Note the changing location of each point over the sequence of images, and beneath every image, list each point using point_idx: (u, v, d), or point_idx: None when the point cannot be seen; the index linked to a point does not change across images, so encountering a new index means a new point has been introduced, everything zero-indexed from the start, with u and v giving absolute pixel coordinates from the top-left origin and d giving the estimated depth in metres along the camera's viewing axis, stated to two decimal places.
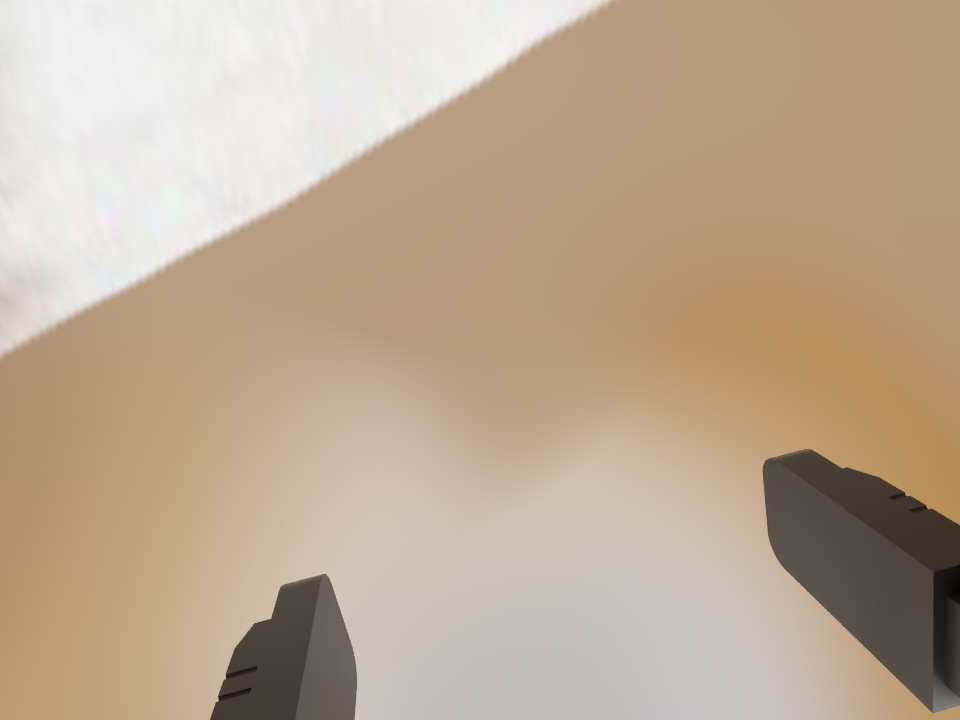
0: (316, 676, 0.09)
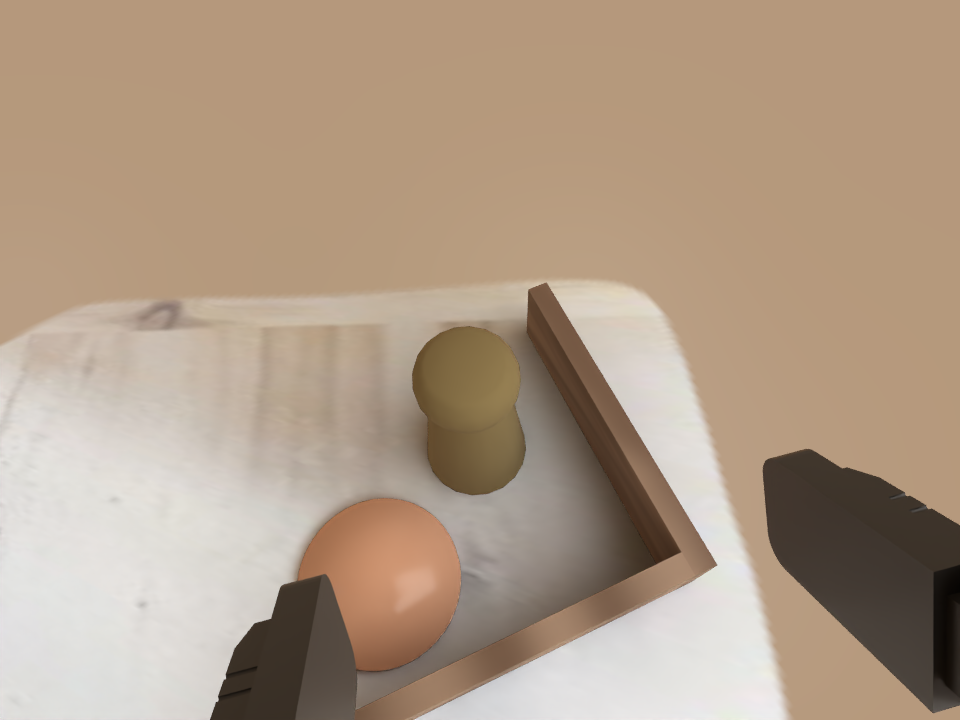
0: (316, 676, 0.09)
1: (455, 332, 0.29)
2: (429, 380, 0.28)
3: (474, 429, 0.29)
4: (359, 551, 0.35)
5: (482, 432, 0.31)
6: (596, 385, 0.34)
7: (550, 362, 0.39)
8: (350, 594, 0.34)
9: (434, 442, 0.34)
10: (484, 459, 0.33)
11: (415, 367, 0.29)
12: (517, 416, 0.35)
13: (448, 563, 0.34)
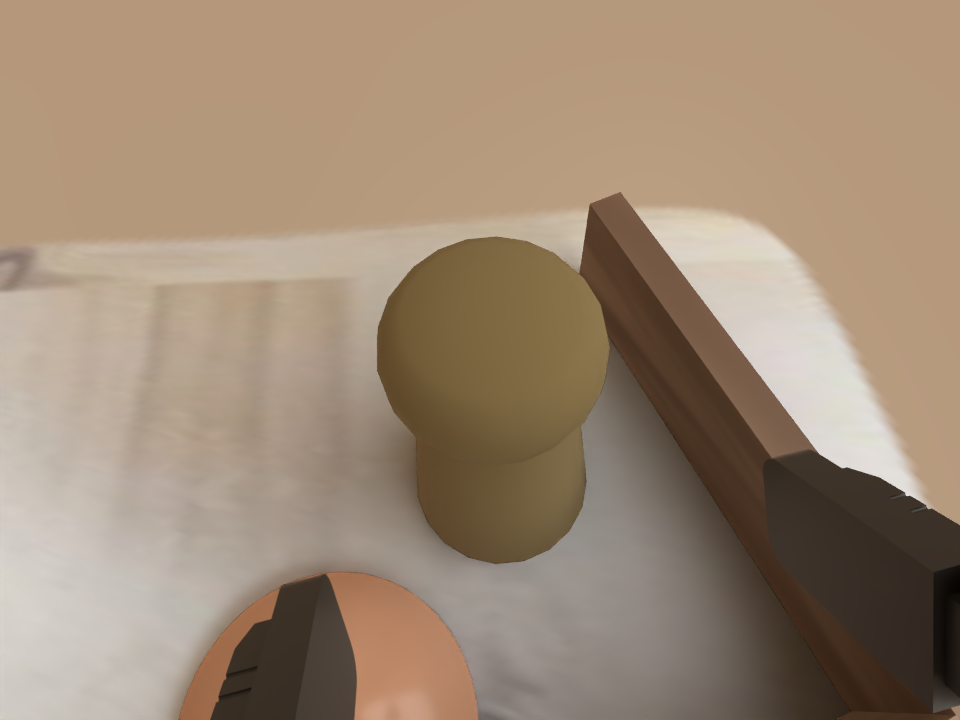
0: (316, 676, 0.09)
1: (469, 247, 0.14)
2: (411, 348, 0.12)
3: (512, 458, 0.13)
4: None
5: (524, 460, 0.15)
6: (729, 366, 0.18)
7: (623, 332, 0.23)
8: None
9: (427, 475, 0.18)
10: (523, 508, 0.17)
11: (382, 323, 0.13)
12: None
13: (455, 699, 0.19)
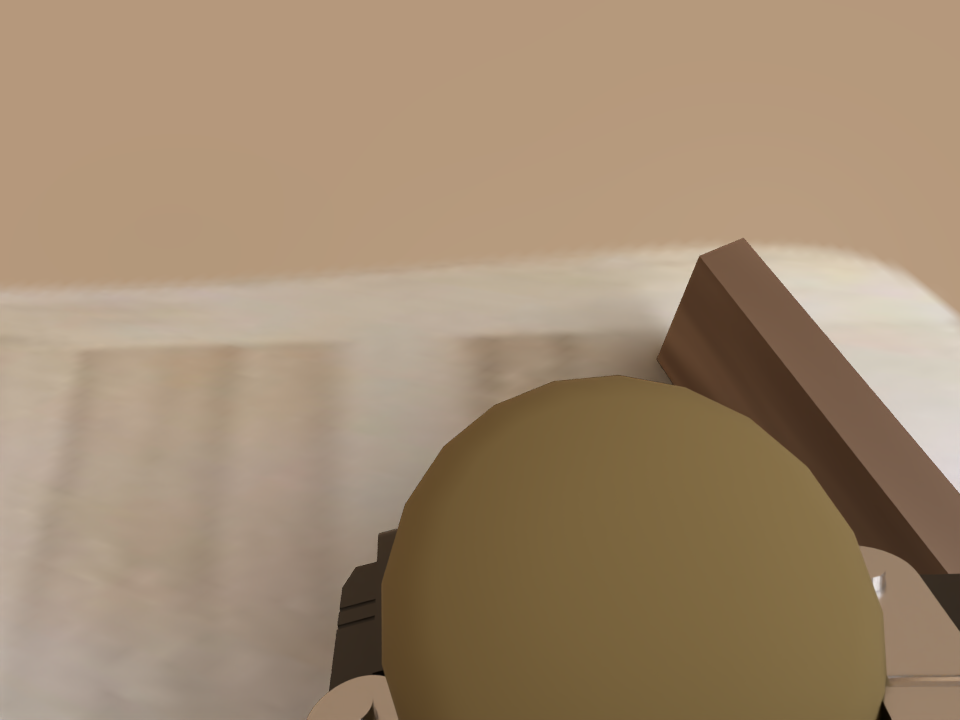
0: None
1: (575, 411, 0.06)
2: (462, 680, 0.05)
3: None
4: None
5: None
6: (958, 538, 0.11)
7: None
8: None
9: None
10: None
11: (392, 577, 0.06)
12: None
13: None
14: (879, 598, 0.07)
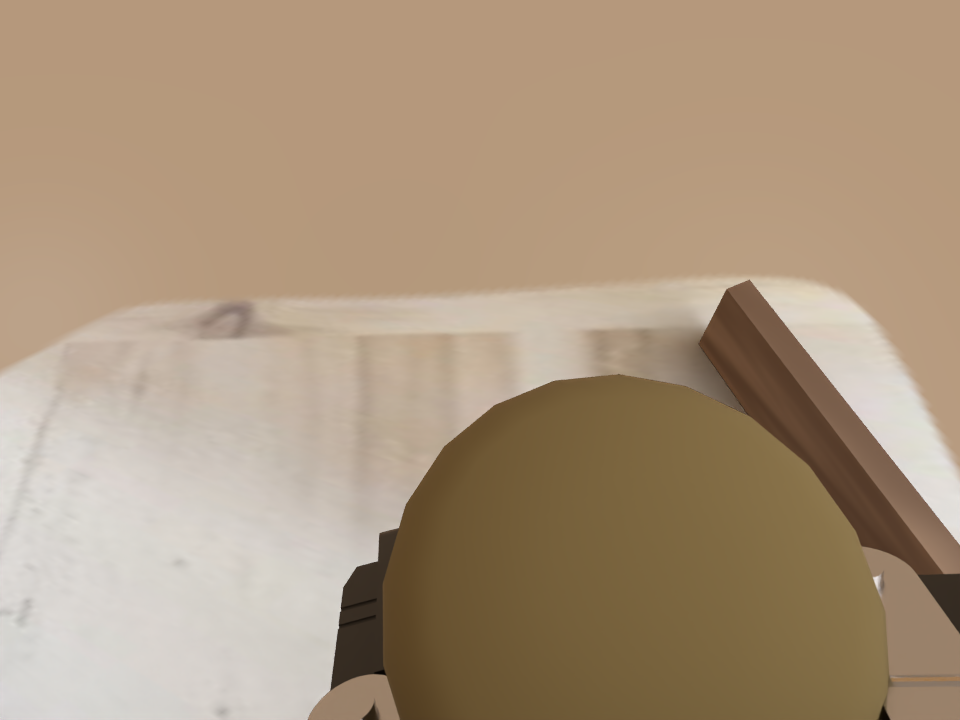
0: None
1: (576, 411, 0.06)
2: (463, 680, 0.05)
3: None
4: None
5: None
6: (844, 420, 0.25)
7: (744, 384, 0.30)
8: None
9: None
10: None
11: (393, 578, 0.06)
12: None
13: None
14: None
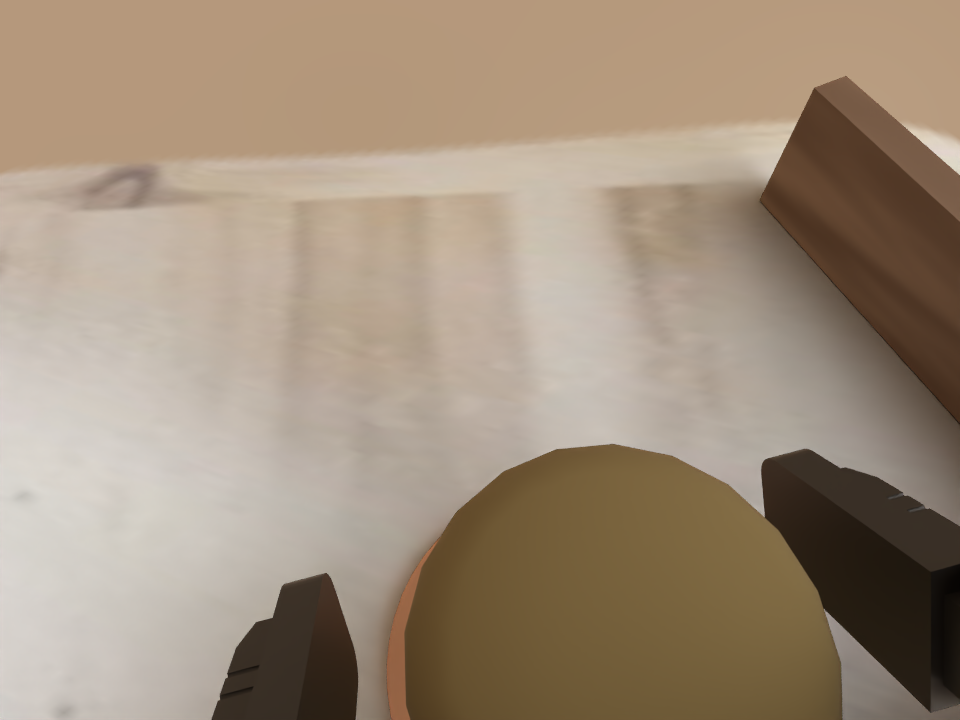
0: (318, 675, 0.09)
1: (575, 485, 0.07)
2: None
3: None
4: None
5: None
6: None
7: (834, 238, 0.21)
8: None
9: None
10: None
11: (416, 631, 0.07)
12: None
13: None
14: None
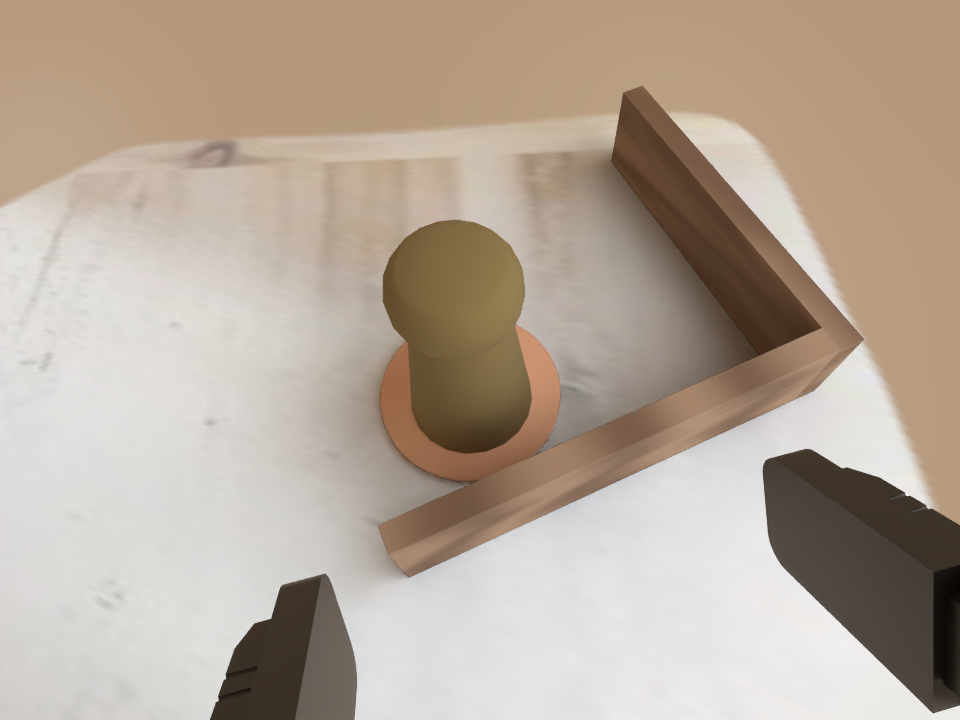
0: (316, 677, 0.09)
1: (438, 226, 0.22)
2: (403, 284, 0.21)
3: (464, 351, 0.22)
4: None
5: (475, 361, 0.24)
6: (708, 176, 0.31)
7: (643, 180, 0.36)
8: None
9: (416, 382, 0.27)
10: (480, 402, 0.26)
11: (385, 271, 0.22)
12: (521, 352, 0.28)
13: (545, 374, 0.31)
14: None
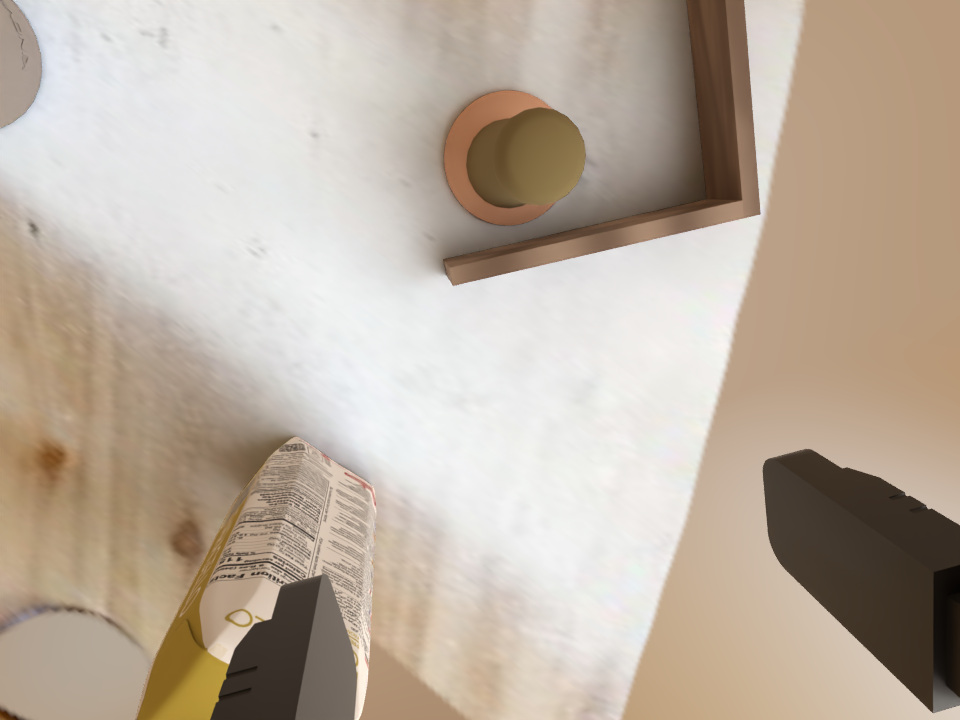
0: (317, 676, 0.09)
1: (544, 121, 0.33)
2: (513, 164, 0.33)
3: None
4: None
5: None
6: (738, 46, 0.39)
7: None
8: None
9: (485, 176, 0.39)
10: None
11: (501, 144, 0.33)
12: None
13: None
14: None
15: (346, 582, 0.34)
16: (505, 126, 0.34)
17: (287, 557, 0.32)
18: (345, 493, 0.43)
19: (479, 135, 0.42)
